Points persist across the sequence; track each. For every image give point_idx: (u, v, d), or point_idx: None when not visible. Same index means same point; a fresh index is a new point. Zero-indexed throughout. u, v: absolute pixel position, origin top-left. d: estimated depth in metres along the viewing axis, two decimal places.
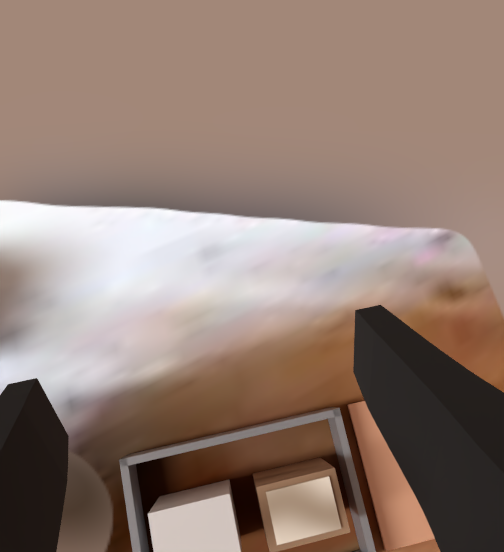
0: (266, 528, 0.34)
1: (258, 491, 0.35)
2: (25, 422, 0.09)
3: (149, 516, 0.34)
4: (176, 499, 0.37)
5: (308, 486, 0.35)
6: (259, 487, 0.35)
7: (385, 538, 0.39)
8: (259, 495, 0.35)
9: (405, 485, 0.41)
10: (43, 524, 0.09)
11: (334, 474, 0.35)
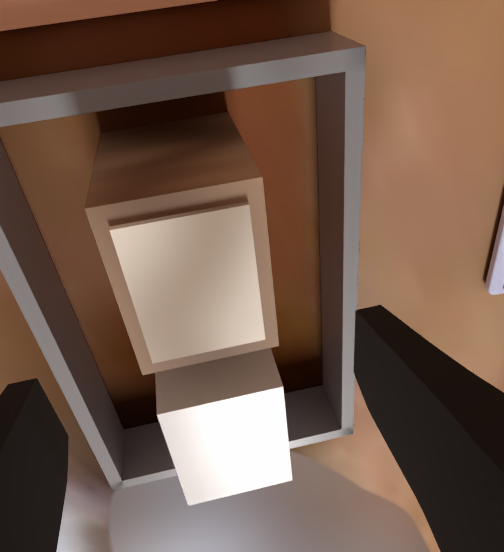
0: (229, 354, 0.15)
1: (152, 370, 0.15)
2: (25, 422, 0.09)
3: (192, 503, 0.20)
4: None
5: (138, 280, 0.13)
6: (143, 369, 0.15)
7: None
8: (160, 369, 0.15)
9: None
10: (43, 524, 0.09)
11: (104, 211, 0.12)
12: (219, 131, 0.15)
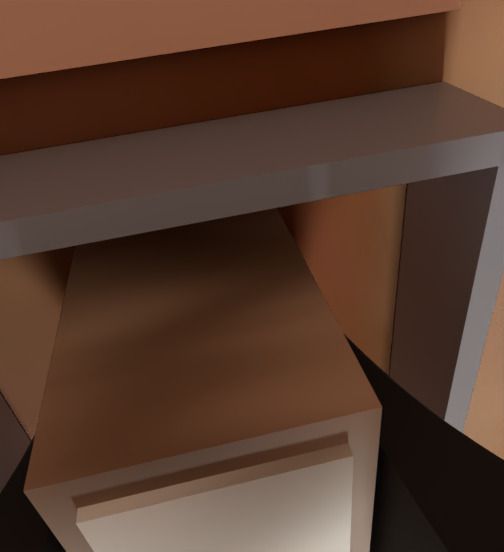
0: None
1: None
2: None
3: None
4: None
5: None
6: None
7: (415, 1, 0.09)
8: None
9: None
10: None
11: (65, 490, 0.06)
12: (269, 253, 0.09)
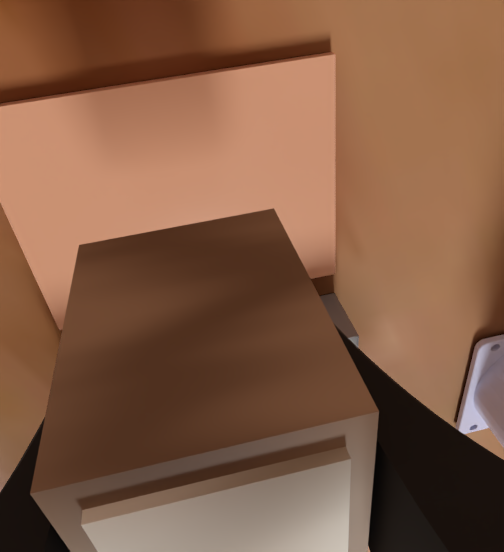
0: None
1: None
2: None
3: None
4: None
5: None
6: None
7: (315, 273, 0.21)
8: None
9: None
10: None
11: (70, 492, 0.06)
12: (269, 259, 0.09)
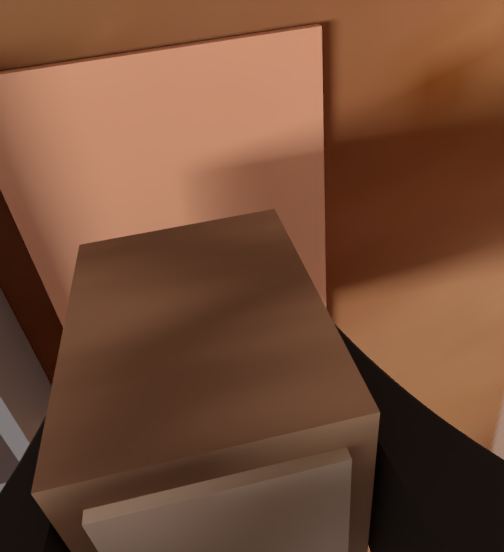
0: None
1: None
2: None
3: None
4: None
5: None
6: None
7: None
8: None
9: None
10: None
11: (71, 492, 0.06)
12: (269, 259, 0.09)
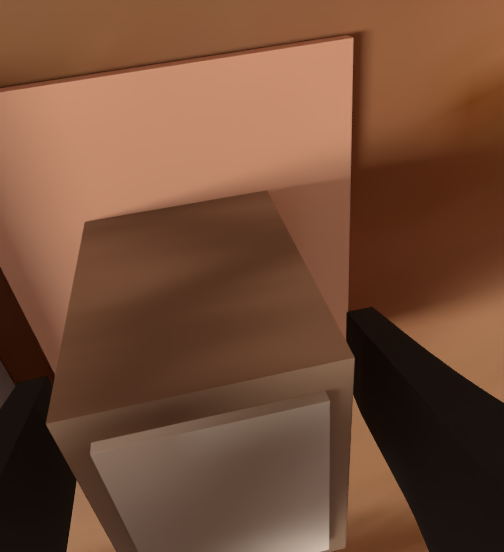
0: None
1: None
2: (36, 420, 0.09)
3: None
4: None
5: (139, 508, 0.08)
6: None
7: None
8: None
9: None
10: (53, 522, 0.09)
11: (81, 424, 0.07)
12: (260, 234, 0.10)
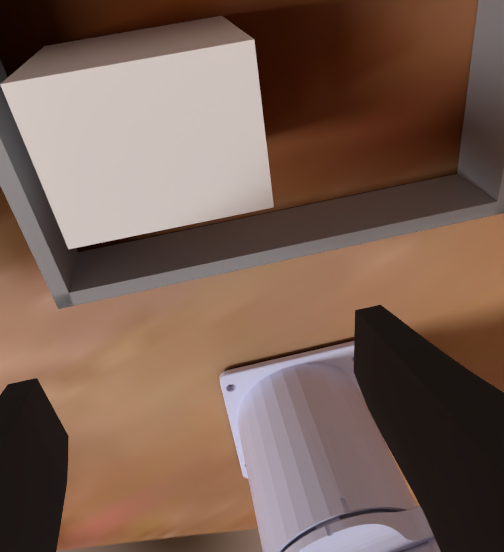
0: None
1: None
2: (25, 422, 0.09)
3: (7, 92, 0.11)
4: (89, 51, 0.13)
5: None
6: None
7: None
8: None
9: None
10: (43, 524, 0.09)
11: None
12: None
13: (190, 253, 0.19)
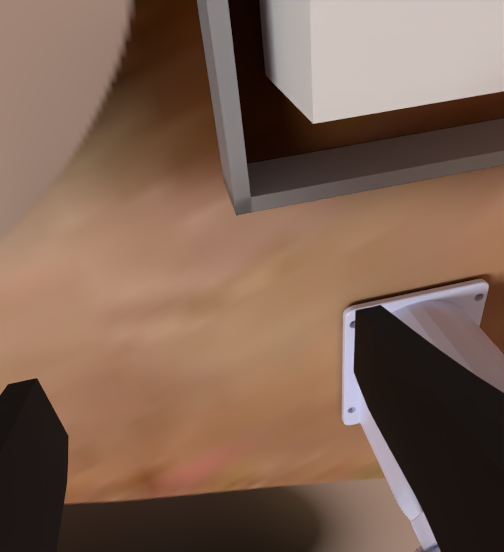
0: None
1: None
2: (24, 422, 0.09)
3: None
4: None
5: None
6: None
7: None
8: None
9: None
10: (43, 524, 0.09)
11: None
12: None
13: (365, 164, 0.18)
